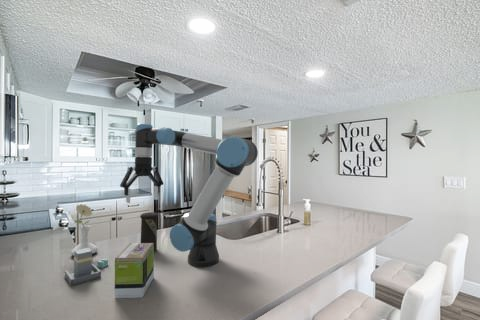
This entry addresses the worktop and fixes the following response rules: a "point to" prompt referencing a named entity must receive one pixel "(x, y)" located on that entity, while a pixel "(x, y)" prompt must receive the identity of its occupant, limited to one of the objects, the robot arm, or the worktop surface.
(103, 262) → the clip
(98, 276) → the grey square tray
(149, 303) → the worktop surface
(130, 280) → the tea box
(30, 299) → the worktop surface
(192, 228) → the robot arm
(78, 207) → the flower in vase
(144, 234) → the container
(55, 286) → the worktop surface
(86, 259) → the grey box with stripe
